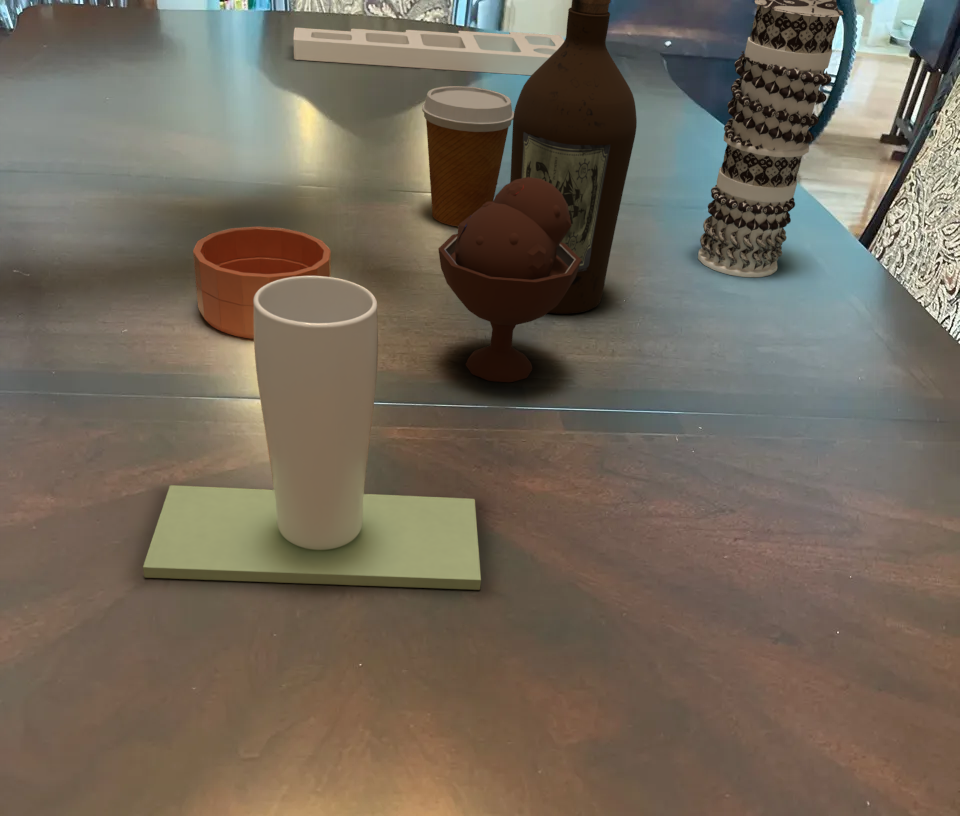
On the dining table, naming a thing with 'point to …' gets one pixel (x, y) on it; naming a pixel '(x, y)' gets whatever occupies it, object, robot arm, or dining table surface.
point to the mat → (271, 558)
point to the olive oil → (579, 142)
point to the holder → (429, 49)
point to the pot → (250, 270)
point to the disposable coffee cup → (464, 148)
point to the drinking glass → (317, 402)
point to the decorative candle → (768, 134)
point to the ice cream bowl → (511, 268)
